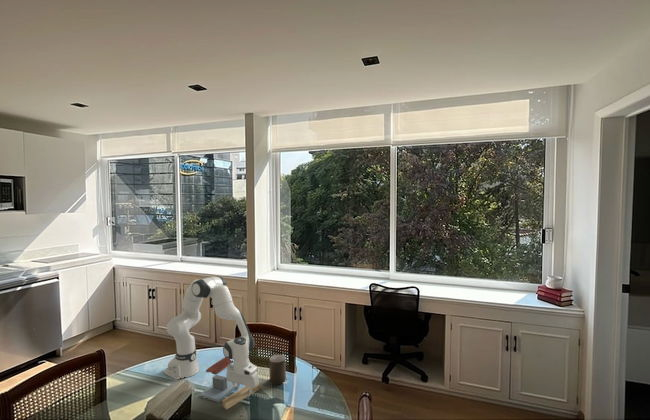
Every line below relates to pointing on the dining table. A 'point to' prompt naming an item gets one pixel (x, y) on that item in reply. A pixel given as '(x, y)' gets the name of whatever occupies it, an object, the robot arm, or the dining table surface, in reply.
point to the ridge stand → (218, 388)
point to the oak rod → (238, 396)
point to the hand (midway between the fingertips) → (243, 390)
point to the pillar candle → (277, 369)
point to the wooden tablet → (219, 366)
